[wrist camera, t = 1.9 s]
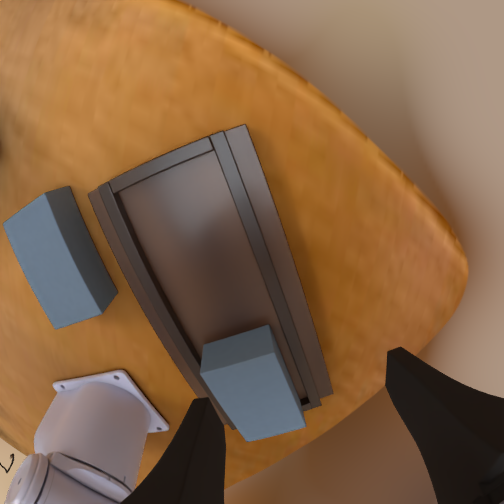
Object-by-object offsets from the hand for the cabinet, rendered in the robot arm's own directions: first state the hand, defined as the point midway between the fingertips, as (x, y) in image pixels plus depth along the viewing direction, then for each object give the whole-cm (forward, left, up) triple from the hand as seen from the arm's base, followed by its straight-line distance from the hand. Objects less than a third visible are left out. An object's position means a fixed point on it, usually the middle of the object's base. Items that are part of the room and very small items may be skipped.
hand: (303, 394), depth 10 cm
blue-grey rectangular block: (-3, -5, -8) cm, 10 cm away
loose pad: (-12, +8, -9) cm, 17 cm away
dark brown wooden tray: (-3, 0, -9) cm, 10 cm away
